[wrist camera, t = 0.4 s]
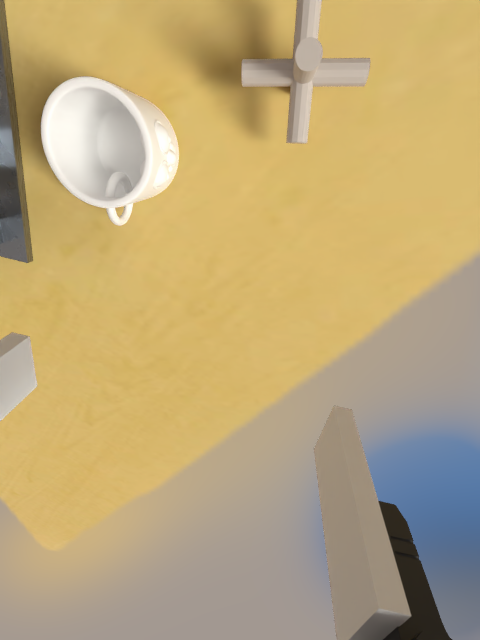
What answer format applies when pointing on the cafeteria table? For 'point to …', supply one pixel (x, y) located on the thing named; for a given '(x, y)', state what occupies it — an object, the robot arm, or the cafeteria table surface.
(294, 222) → the cafeteria table surface
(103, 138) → the mug
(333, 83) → the pipe connector
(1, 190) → the bearing block
